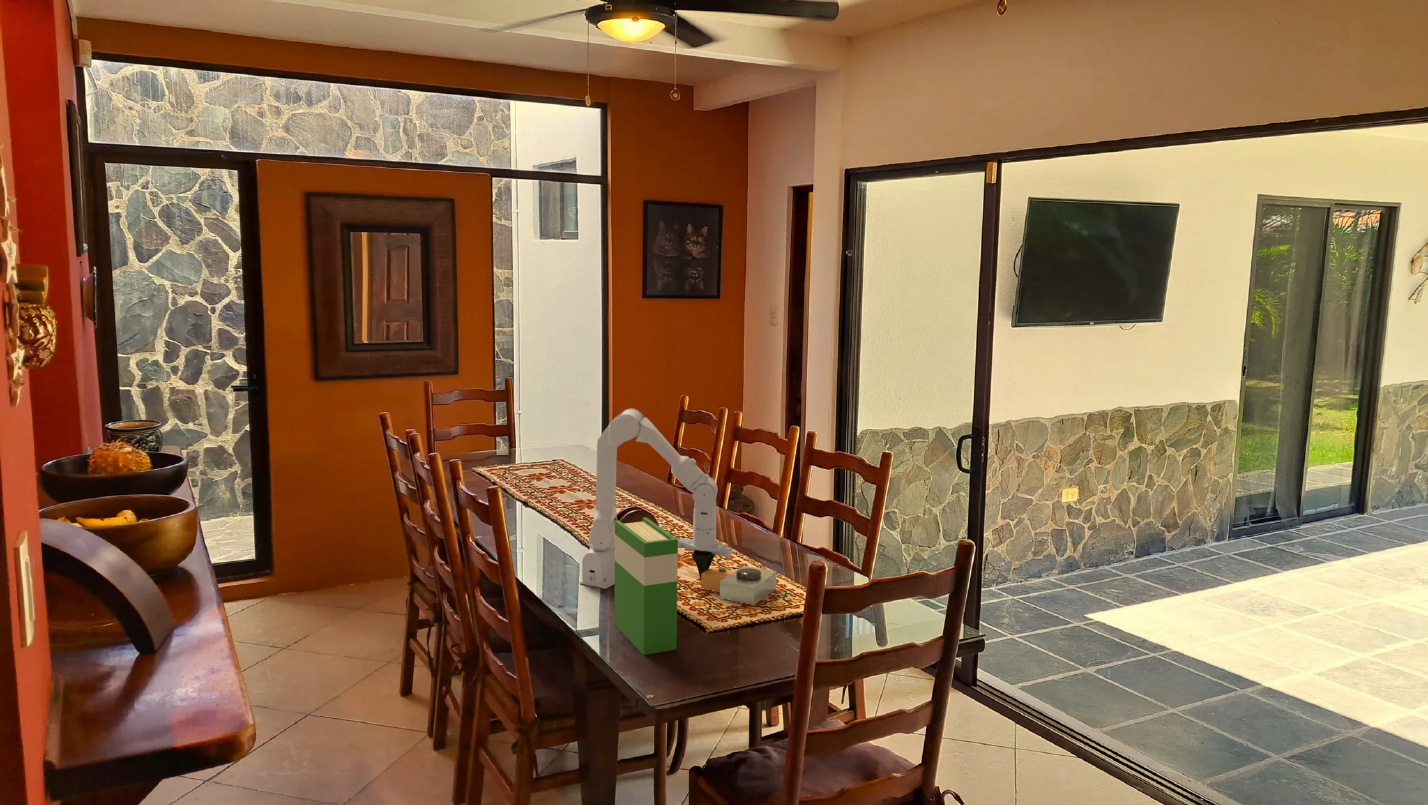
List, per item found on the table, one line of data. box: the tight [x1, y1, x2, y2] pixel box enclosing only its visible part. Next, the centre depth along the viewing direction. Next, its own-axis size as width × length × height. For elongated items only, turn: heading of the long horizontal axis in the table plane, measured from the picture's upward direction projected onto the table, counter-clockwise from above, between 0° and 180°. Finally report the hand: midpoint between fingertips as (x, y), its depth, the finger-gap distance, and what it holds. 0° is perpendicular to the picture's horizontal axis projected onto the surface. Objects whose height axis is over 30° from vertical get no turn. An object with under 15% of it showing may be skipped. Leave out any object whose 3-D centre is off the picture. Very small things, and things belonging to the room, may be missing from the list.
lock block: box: [700, 566, 736, 593], centre depth 240 cm, size 6×7×5 cm
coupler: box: [719, 565, 777, 606], centre depth 238 cm, size 13×15×6 cm
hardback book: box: [613, 517, 679, 656], centre depth 208 cm, size 18×7×24 cm, turn 26°
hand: (703, 579), depth 242 cm, fingers closed
